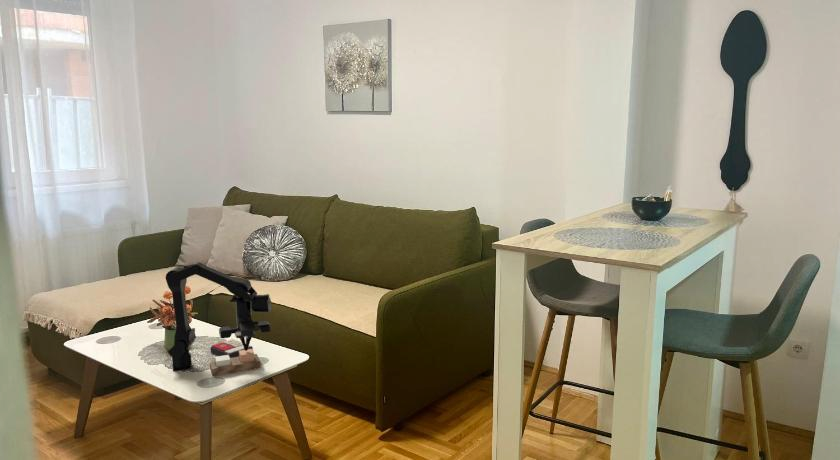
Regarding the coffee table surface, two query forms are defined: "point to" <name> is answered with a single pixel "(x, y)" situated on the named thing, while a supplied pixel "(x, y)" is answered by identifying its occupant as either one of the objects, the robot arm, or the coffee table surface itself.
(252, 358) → the tan wooden block
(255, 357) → the key panel
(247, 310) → the robot arm
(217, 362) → the cream key
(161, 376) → the coffee table surface
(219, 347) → the calculator
